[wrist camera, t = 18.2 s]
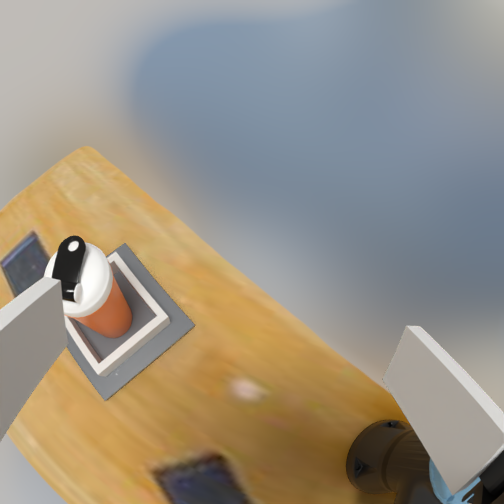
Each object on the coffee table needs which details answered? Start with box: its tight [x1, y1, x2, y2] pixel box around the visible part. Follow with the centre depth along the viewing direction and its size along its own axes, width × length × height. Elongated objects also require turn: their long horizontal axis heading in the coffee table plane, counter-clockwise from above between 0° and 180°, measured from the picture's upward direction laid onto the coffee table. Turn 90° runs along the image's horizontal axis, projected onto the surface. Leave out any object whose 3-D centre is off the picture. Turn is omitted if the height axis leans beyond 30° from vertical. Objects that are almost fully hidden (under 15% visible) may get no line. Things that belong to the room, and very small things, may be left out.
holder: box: [64, 243, 195, 401], centre depth 42 cm, size 20×20×5 cm
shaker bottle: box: [44, 236, 132, 338], centre depth 35 cm, size 9×9×20 cm
